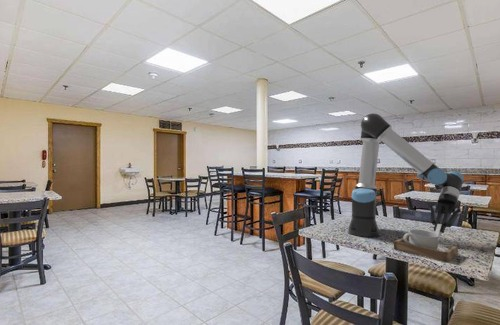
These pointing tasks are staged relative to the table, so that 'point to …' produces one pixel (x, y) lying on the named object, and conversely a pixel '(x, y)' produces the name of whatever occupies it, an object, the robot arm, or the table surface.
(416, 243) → the teacup
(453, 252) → the wooden tray
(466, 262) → the table surface
